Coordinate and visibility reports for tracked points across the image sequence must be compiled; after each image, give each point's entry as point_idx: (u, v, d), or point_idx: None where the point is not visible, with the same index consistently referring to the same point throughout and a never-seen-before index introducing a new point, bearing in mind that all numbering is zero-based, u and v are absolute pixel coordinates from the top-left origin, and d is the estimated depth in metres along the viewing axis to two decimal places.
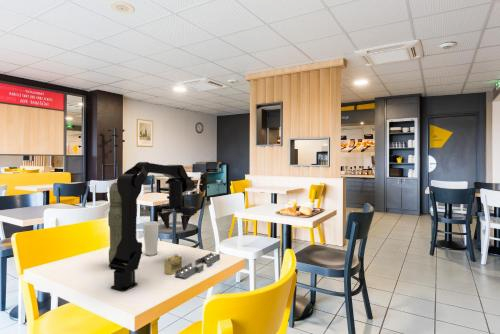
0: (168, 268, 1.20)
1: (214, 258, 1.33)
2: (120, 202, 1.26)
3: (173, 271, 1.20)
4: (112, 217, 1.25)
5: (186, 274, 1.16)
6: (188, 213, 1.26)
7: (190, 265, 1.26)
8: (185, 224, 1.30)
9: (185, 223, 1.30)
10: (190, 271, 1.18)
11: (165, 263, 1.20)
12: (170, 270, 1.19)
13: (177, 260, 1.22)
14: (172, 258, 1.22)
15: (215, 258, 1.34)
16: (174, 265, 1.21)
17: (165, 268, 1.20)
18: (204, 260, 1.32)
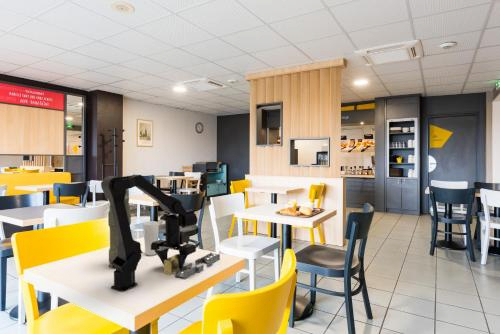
0: (168, 268, 1.20)
1: (214, 258, 1.33)
2: None
3: (173, 271, 1.20)
4: (112, 217, 1.25)
5: (186, 274, 1.16)
6: (186, 253, 1.16)
7: (190, 265, 1.26)
8: (182, 263, 1.20)
9: (182, 262, 1.20)
10: (190, 271, 1.18)
11: (165, 263, 1.20)
12: (170, 270, 1.19)
13: (177, 260, 1.22)
14: (172, 258, 1.22)
15: (215, 258, 1.34)
16: (174, 265, 1.21)
17: (165, 267, 1.20)
18: (204, 260, 1.32)
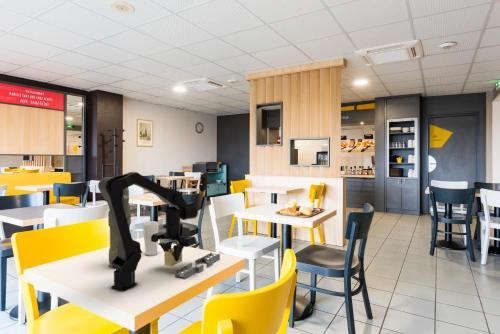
0: (168, 259, 1.20)
1: (214, 258, 1.33)
2: None
3: (173, 262, 1.20)
4: None
5: (186, 274, 1.16)
6: (186, 244, 1.16)
7: (190, 265, 1.26)
8: (178, 255, 1.21)
9: (178, 254, 1.21)
10: (190, 271, 1.18)
11: (165, 254, 1.20)
12: (170, 261, 1.19)
13: None
14: (172, 249, 1.22)
15: (215, 258, 1.34)
16: None
17: (165, 259, 1.20)
18: (204, 260, 1.32)
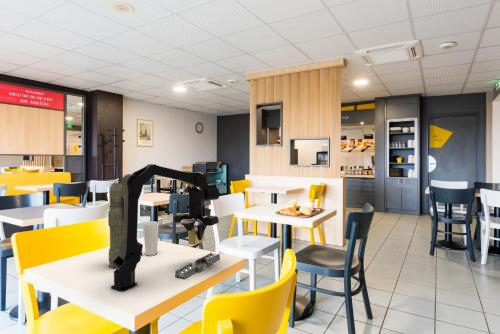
0: (192, 238, 1.23)
1: (214, 258, 1.33)
2: (120, 202, 1.26)
3: (197, 241, 1.24)
4: (112, 217, 1.25)
5: (186, 274, 1.16)
6: (210, 223, 1.20)
7: (190, 265, 1.26)
8: (201, 234, 1.25)
9: (201, 233, 1.24)
10: (190, 271, 1.18)
11: (189, 234, 1.24)
12: (194, 240, 1.23)
13: None
14: (195, 229, 1.26)
15: (215, 258, 1.34)
16: None
17: (189, 238, 1.24)
18: (204, 260, 1.32)
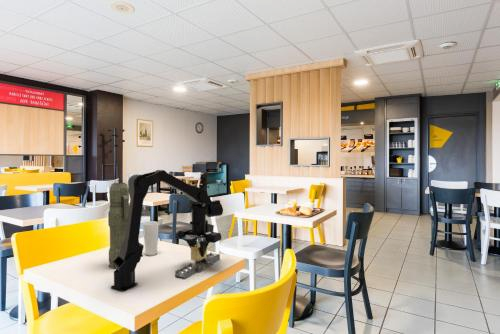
0: (195, 254, 1.24)
1: (214, 258, 1.33)
2: (120, 202, 1.26)
3: (199, 257, 1.24)
4: (112, 217, 1.25)
5: (186, 274, 1.16)
6: (213, 240, 1.20)
7: (190, 265, 1.26)
8: (204, 250, 1.25)
9: (204, 249, 1.25)
10: (190, 271, 1.18)
11: (192, 250, 1.24)
12: (197, 256, 1.23)
13: None
14: (198, 245, 1.26)
15: (215, 258, 1.34)
16: (200, 251, 1.25)
17: (192, 254, 1.24)
18: (204, 260, 1.32)
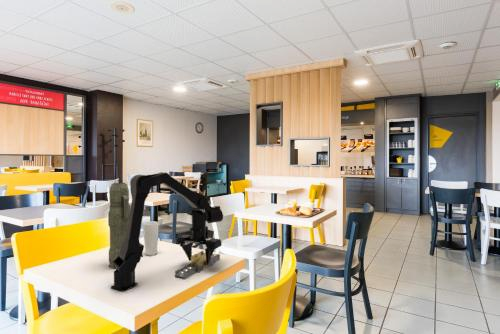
0: (195, 264, 1.24)
1: (214, 258, 1.33)
2: (120, 202, 1.26)
3: None
4: (112, 217, 1.25)
5: (186, 274, 1.16)
6: (213, 247, 1.20)
7: (190, 265, 1.26)
8: (209, 257, 1.24)
9: (209, 256, 1.24)
10: (190, 271, 1.18)
11: (192, 259, 1.25)
12: (197, 266, 1.24)
13: (203, 257, 1.27)
14: (198, 255, 1.26)
15: (215, 258, 1.34)
16: (200, 261, 1.25)
17: (192, 264, 1.25)
18: None
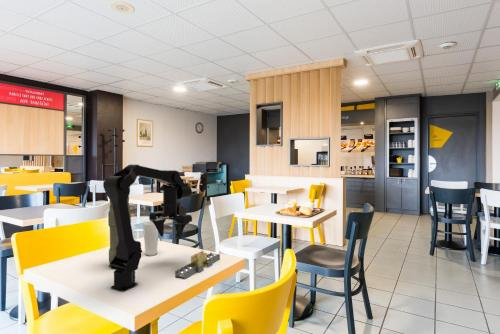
0: (195, 264, 1.24)
1: (214, 258, 1.33)
2: None
3: None
4: (112, 217, 1.25)
5: (186, 274, 1.16)
6: (182, 221, 1.20)
7: (190, 265, 1.26)
8: (179, 233, 1.24)
9: (179, 232, 1.24)
10: (190, 271, 1.18)
11: (192, 259, 1.25)
12: (197, 266, 1.24)
13: (203, 257, 1.27)
14: (198, 255, 1.26)
15: (215, 258, 1.34)
16: (200, 261, 1.25)
17: (192, 264, 1.25)
18: None
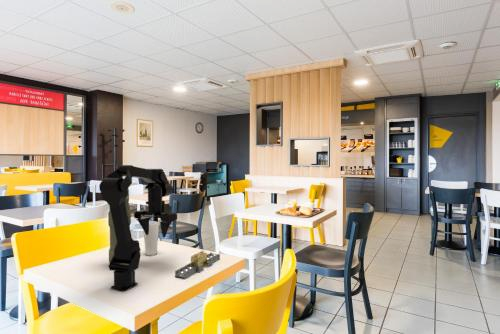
0: (195, 264, 1.24)
1: (214, 258, 1.33)
2: None
3: None
4: None
5: (186, 274, 1.16)
6: (167, 219, 1.21)
7: (190, 265, 1.26)
8: (165, 231, 1.25)
9: (165, 230, 1.25)
10: (190, 271, 1.18)
11: (192, 259, 1.25)
12: (197, 266, 1.24)
13: (203, 257, 1.27)
14: (198, 255, 1.26)
15: (215, 258, 1.34)
16: (200, 261, 1.25)
17: (192, 264, 1.25)
18: None
